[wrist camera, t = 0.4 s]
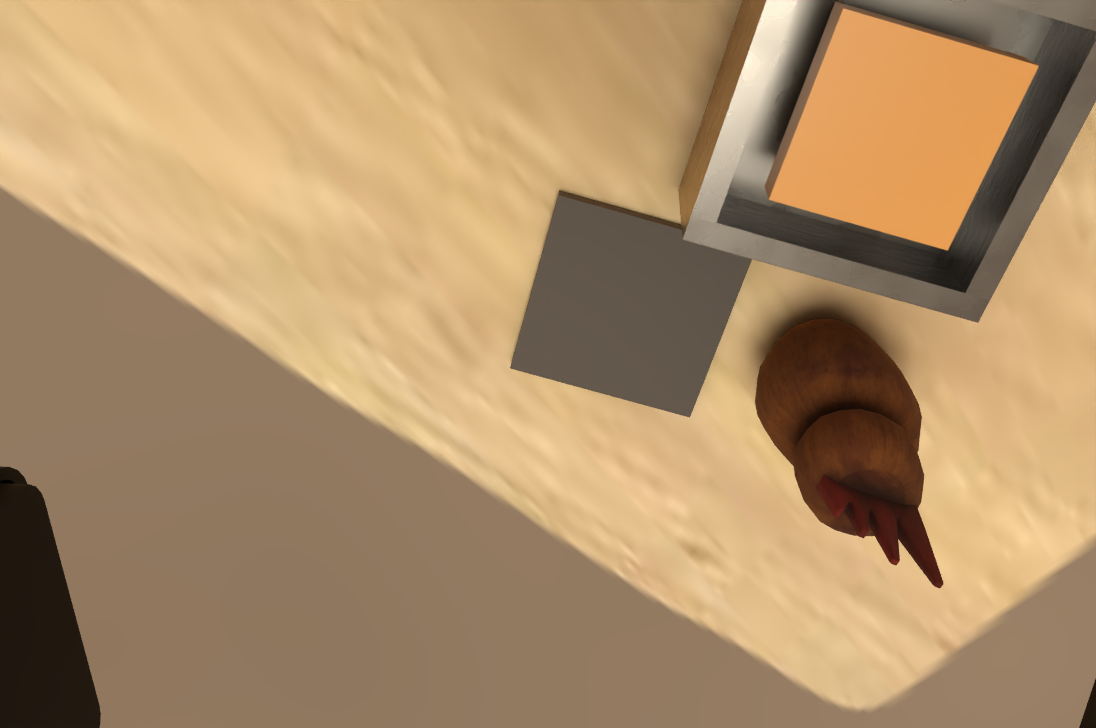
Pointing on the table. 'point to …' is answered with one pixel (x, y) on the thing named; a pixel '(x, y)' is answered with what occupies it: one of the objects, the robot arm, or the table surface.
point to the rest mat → (626, 306)
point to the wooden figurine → (848, 434)
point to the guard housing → (859, 252)
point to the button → (896, 126)
